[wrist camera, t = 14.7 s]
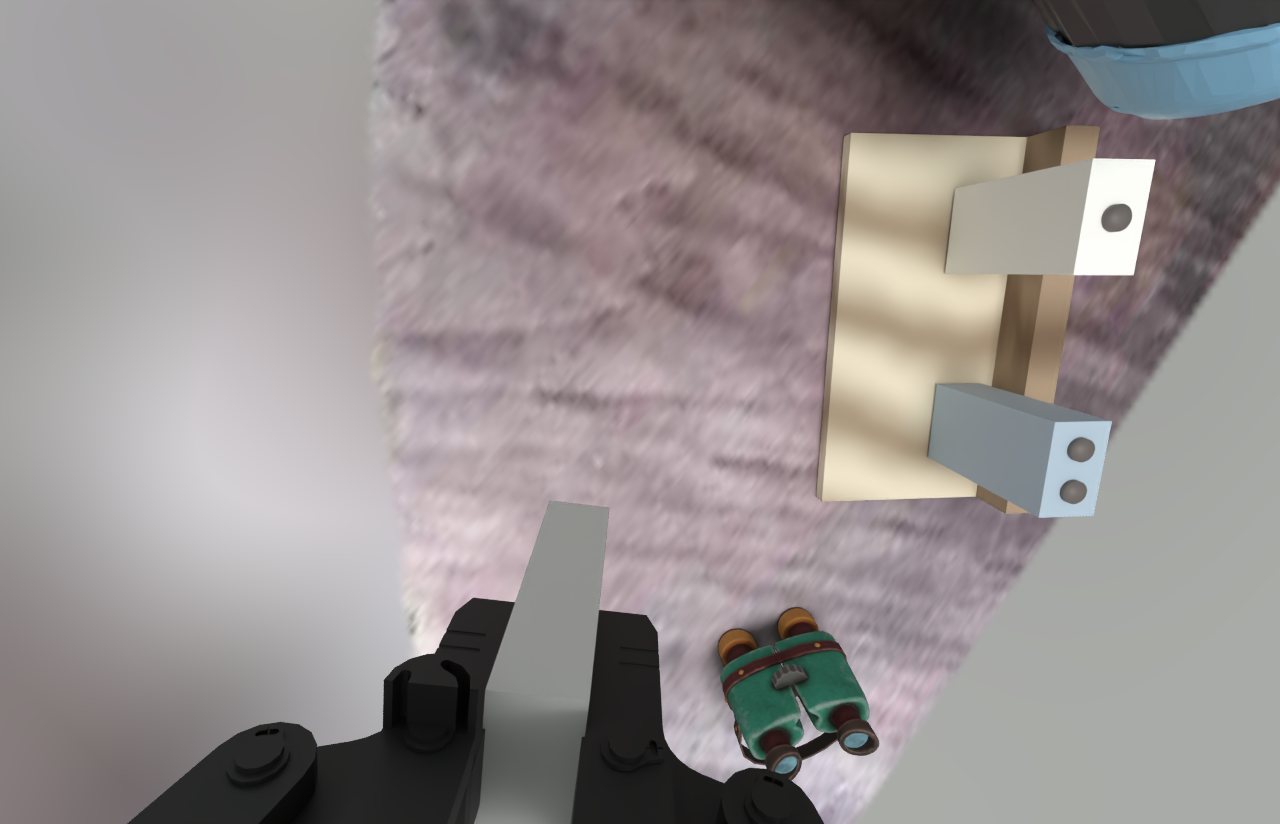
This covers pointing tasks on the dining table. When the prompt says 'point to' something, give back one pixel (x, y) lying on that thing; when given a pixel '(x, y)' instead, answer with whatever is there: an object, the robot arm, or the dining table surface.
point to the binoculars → (793, 695)
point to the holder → (927, 309)
